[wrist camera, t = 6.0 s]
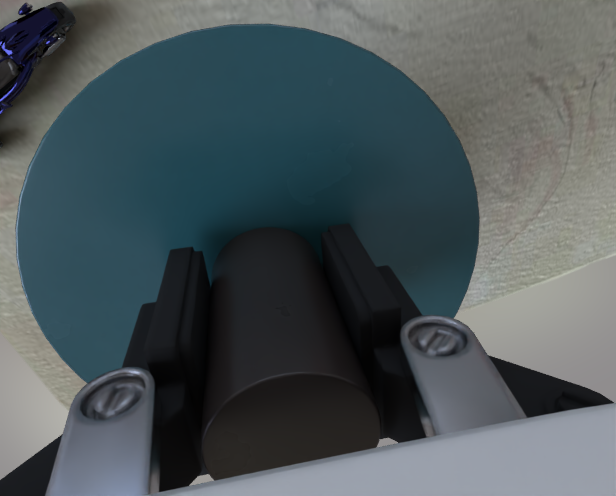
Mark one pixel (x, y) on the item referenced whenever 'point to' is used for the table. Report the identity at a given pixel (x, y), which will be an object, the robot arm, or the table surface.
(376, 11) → the table surface
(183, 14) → the table surface
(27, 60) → the toy car
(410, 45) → the table surface
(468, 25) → the table surface
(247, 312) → the lid
